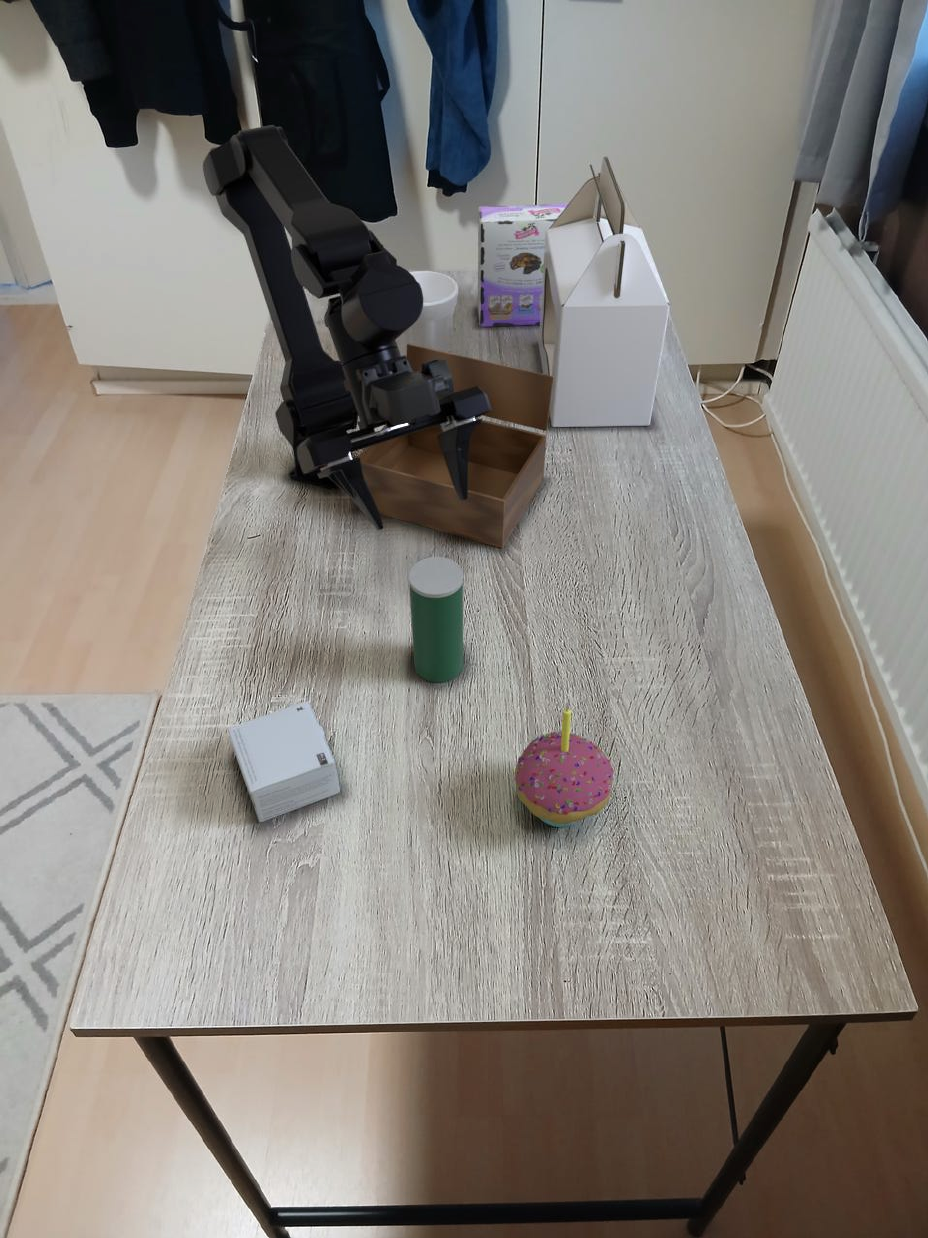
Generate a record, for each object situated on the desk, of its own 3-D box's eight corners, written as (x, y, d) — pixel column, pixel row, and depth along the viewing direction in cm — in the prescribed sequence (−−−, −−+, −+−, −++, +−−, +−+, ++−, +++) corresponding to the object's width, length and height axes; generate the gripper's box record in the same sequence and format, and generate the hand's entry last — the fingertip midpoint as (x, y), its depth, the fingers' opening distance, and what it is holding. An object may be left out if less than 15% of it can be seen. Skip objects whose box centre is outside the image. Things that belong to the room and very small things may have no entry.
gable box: (538, 344, 139) (550, 146, 119) (625, 342, 140) (652, 145, 119) (551, 429, 124) (568, 218, 104) (650, 427, 124) (686, 216, 104)
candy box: (563, 306, 147) (571, 201, 136) (568, 325, 143) (577, 218, 132) (476, 309, 147) (477, 203, 135) (479, 327, 143) (480, 220, 131)
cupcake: (507, 769, 86) (512, 685, 77) (598, 762, 86) (613, 678, 78) (519, 851, 80) (525, 770, 71) (616, 843, 80) (634, 762, 72)
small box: (235, 759, 87) (225, 725, 83) (316, 731, 89) (309, 697, 85) (258, 825, 82) (248, 793, 78) (342, 794, 84) (337, 761, 80)
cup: (472, 367, 135) (472, 281, 125) (434, 399, 129) (431, 312, 119) (415, 348, 138) (412, 263, 129) (376, 379, 133) (369, 292, 123)
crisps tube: (405, 674, 94) (399, 584, 85) (426, 640, 97) (422, 550, 88) (451, 689, 92) (449, 600, 84) (471, 654, 96) (471, 565, 87)
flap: (406, 344, 112) (407, 343, 112) (405, 397, 116) (406, 396, 116) (553, 376, 106) (554, 376, 107) (546, 430, 110) (547, 430, 111)
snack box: (358, 507, 112) (353, 461, 107) (408, 446, 121) (405, 400, 116) (502, 548, 107) (504, 501, 102) (543, 481, 116) (546, 435, 111)
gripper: (295, 364, 78) (357, 540, 80) (488, 311, 84) (540, 476, 86) (272, 391, 88) (327, 546, 90) (445, 342, 94) (493, 488, 97)
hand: (423, 514), depth 91 cm, fingers open, 9 cm apart
